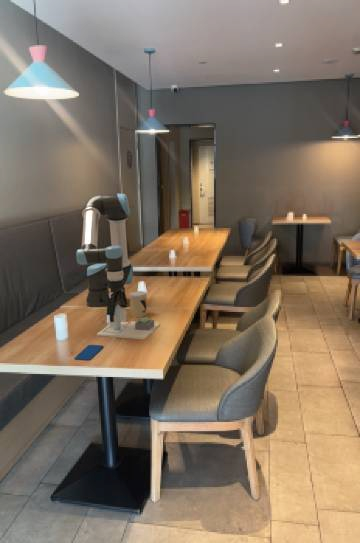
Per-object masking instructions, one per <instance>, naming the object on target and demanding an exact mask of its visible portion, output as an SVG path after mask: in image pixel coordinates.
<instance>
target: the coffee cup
mask: <svg viewBox="0 0 360 543" xmlns="http://www.w3.org/2000/svg"><path fill="white" fill-rule="evenodd" d="M147 295H148V294H147V292H146V291H143V290H137V291H132V292H129V294H128V297H129V303H130V313H131V316H132V317H134V318H143V317H146V315H147V297H148V296H147Z"/></svg>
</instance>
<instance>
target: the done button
mask: <svg viewBox="0 0 360 543" xmlns="http://www.w3.org/2000/svg"><path fill="white" fill-rule="evenodd" d="M149 319H150V318H149V317H146V316H143V317H139V320H140V323H148V322H149Z"/></svg>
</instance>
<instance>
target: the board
mask: <svg viewBox="0 0 360 543" xmlns="http://www.w3.org/2000/svg"><path fill="white" fill-rule="evenodd" d="M120 322H121V330H113V328H110V324H108V325H107V326H106V327H104V328H103V329H101V330H100V331H98V332H97V333H96V336H97V337H99V336H100V337H108V338H109V337H110V338H121V339H134V340H146V339H147V338H148V337H149V336H150V335H151V334H152V333H153V332H155V331H156V330H157V329H158V328H159V327H160V323H157V322H156V323H155V320H154V319H150V318H149V322H148V323H140V319H139V320H137V321H132V320H131V321H128V320H126V321H121V320H120Z"/></svg>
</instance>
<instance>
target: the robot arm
mask: <svg viewBox="0 0 360 543" xmlns="http://www.w3.org/2000/svg"><path fill="white" fill-rule="evenodd" d="M129 204H130V203H129V199H128V196H127V194H125V193H119V192H118V193H103V194H102V193H99V194H95V195H93V196H91V197H90V198H89V199H88V200H87V201H86V202H85V204H84V205H83V207H82V211H81V215H82V216H81V217H82V218H83V224H82V226H83V227H82V237H81V248H80V249H77V250H76V254H75V255H76V262H77V264H78V265H81V266H82V265H86V266H88V265H89V266H88V267H87V269H86V276H87V277H86V278H87V288H88V289H87V291H88V292H87V296H86V299H85V300H86V301H85V303H86V306H89V307H92V308H95V307H97V308H99V307H106V315H107V316H109V325H110V328H116V317H115V315H114V313H115V308H116V303H118V304H119V307H120V321H127V311H126V308H128V299H127V294H126V291H125V290H126V288H125V286H126V285H131V284H132V283H133V278H134V265H133V264H131V261H130V260H129V257H128V245H127V244H128V243H127V242H128V241H127V230H126V228H127V226H126V221H127V219H128V218H129V216H130V215H131V210H130V205H129ZM103 216H104V217H106V220H107V221H108V222H109V230H110V241H111V242H110V243H111V246H110V245H109V246H107V247H104V248H103V247H102V248H100V247H99V248H98V238H99V220H100V219H101V217H103Z"/></svg>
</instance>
